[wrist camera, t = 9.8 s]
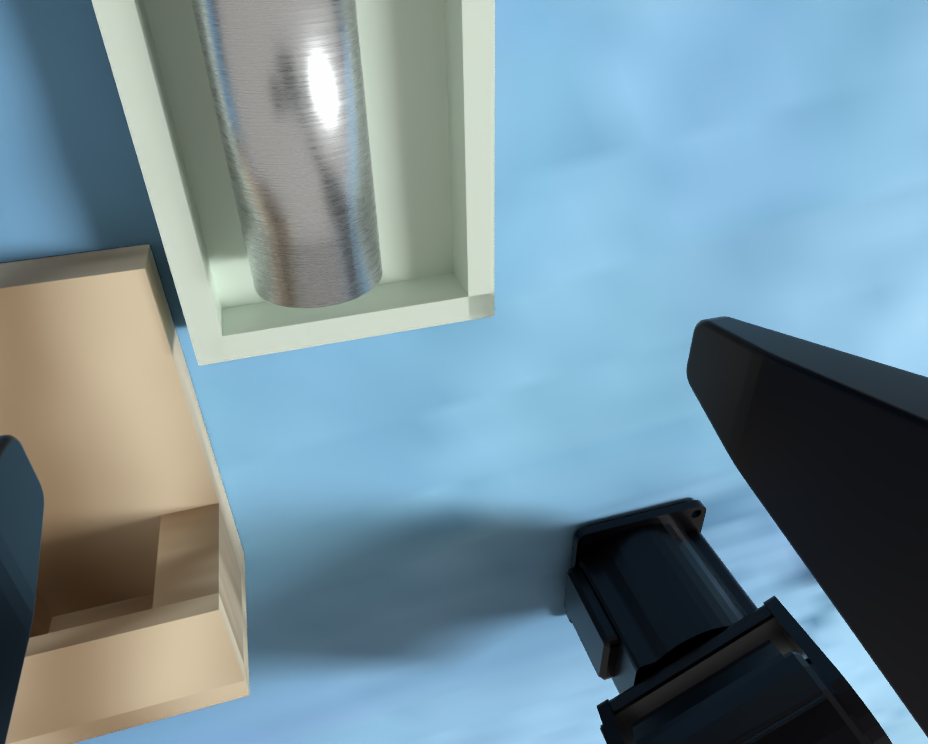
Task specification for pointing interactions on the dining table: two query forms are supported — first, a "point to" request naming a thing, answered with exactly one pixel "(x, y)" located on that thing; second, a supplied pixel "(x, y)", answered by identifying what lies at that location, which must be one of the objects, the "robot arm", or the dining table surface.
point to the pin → (295, 144)
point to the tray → (393, 165)
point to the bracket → (117, 504)
